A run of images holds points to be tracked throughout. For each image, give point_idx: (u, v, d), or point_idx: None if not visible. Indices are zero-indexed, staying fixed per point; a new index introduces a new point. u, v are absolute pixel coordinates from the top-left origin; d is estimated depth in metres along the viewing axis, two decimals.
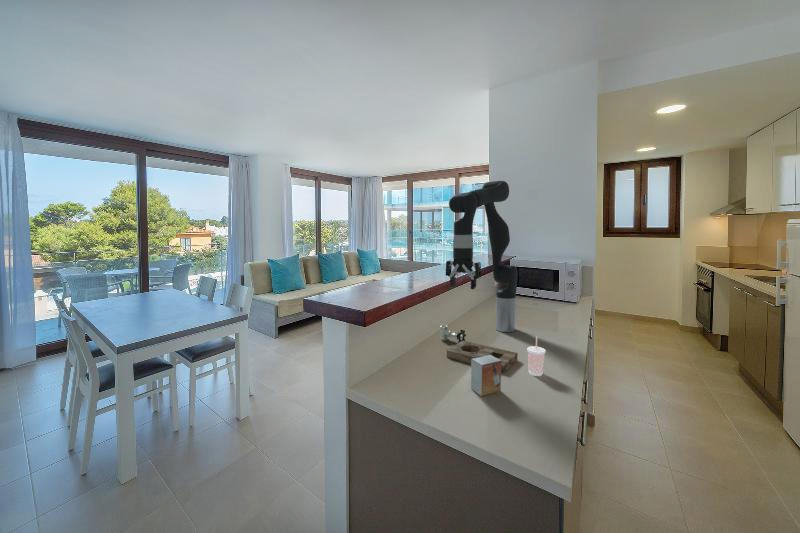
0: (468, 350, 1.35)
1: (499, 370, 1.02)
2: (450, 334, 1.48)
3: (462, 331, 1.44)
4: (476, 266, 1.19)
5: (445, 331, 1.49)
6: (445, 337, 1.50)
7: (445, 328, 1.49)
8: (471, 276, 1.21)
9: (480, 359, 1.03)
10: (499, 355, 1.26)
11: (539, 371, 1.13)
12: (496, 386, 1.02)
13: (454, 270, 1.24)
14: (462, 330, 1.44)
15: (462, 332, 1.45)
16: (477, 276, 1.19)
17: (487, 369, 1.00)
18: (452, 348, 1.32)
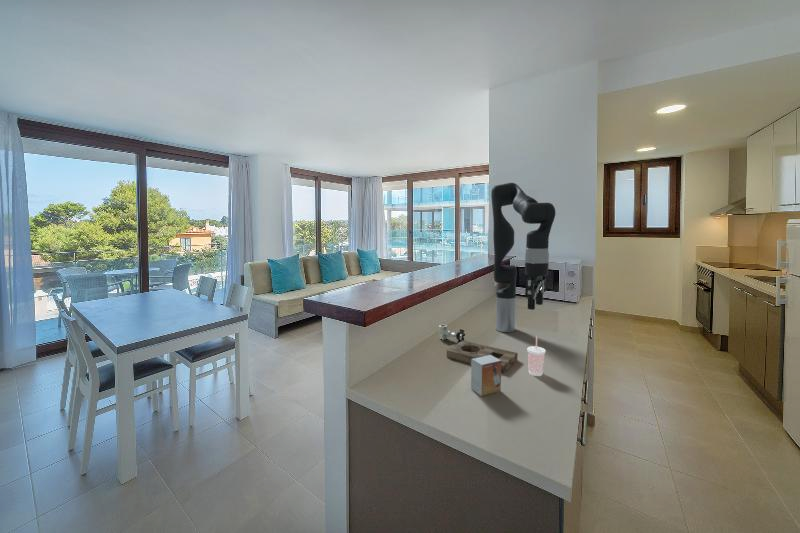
0: (468, 350, 1.35)
1: (499, 370, 1.02)
2: (449, 334, 1.48)
3: (461, 331, 1.45)
4: (545, 279, 1.15)
5: (444, 331, 1.50)
6: (444, 337, 1.50)
7: (444, 328, 1.50)
8: (543, 291, 1.14)
9: (480, 359, 1.03)
10: (499, 355, 1.26)
11: (539, 371, 1.13)
12: (496, 386, 1.02)
13: (538, 289, 1.08)
14: (461, 330, 1.45)
15: (461, 332, 1.45)
16: (545, 289, 1.16)
17: (487, 369, 1.00)
18: (452, 348, 1.32)
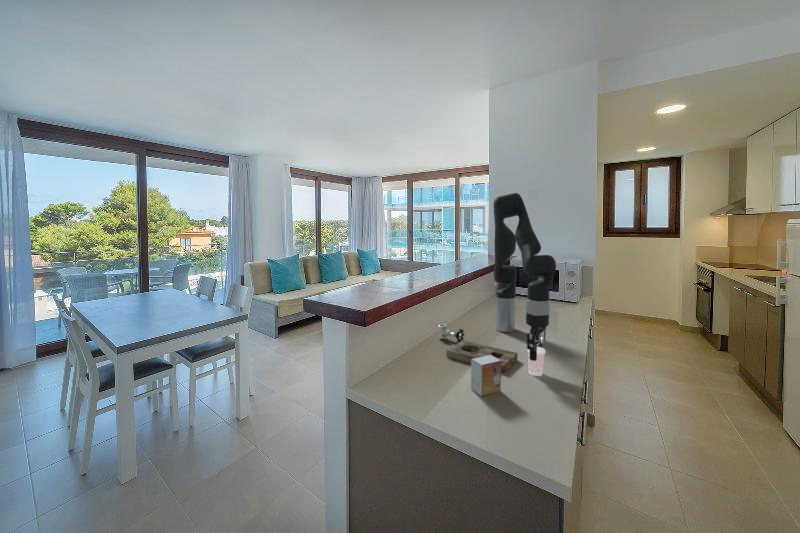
0: (468, 350, 1.35)
1: (499, 370, 1.02)
2: (449, 333, 1.49)
3: (461, 330, 1.45)
4: (545, 329, 1.17)
5: (444, 331, 1.50)
6: (444, 336, 1.50)
7: (444, 328, 1.50)
8: (542, 341, 1.16)
9: (480, 359, 1.03)
10: (499, 355, 1.26)
11: (539, 371, 1.13)
12: (496, 386, 1.02)
13: (539, 340, 1.11)
14: (461, 329, 1.45)
15: (461, 331, 1.46)
16: (544, 339, 1.17)
17: (487, 369, 1.00)
18: (452, 348, 1.32)
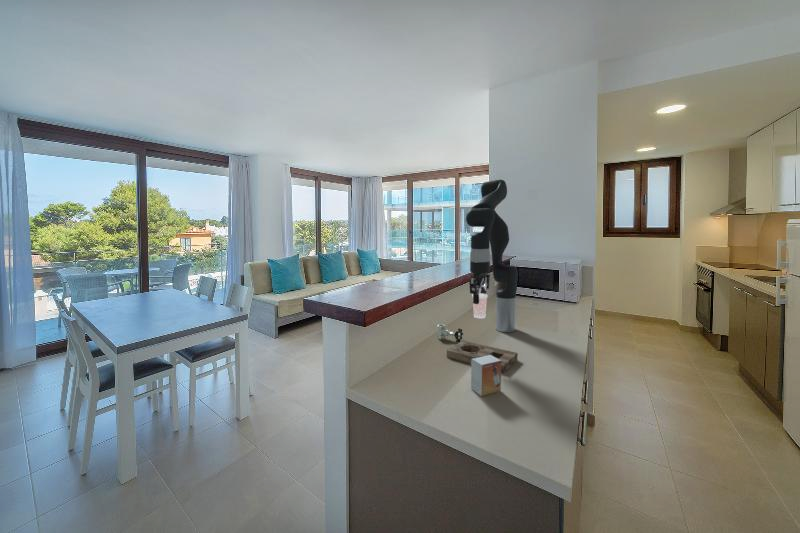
0: (468, 350, 1.35)
1: (499, 370, 1.02)
2: (448, 333, 1.49)
3: (460, 330, 1.46)
4: (489, 277, 1.29)
5: (442, 330, 1.50)
6: (442, 336, 1.51)
7: (442, 327, 1.50)
8: (486, 288, 1.28)
9: (480, 359, 1.03)
10: (499, 355, 1.26)
11: (482, 314, 1.25)
12: (496, 386, 1.02)
13: (481, 285, 1.23)
14: (460, 329, 1.46)
15: (460, 331, 1.46)
16: (488, 286, 1.29)
17: (487, 369, 1.00)
18: (452, 348, 1.32)
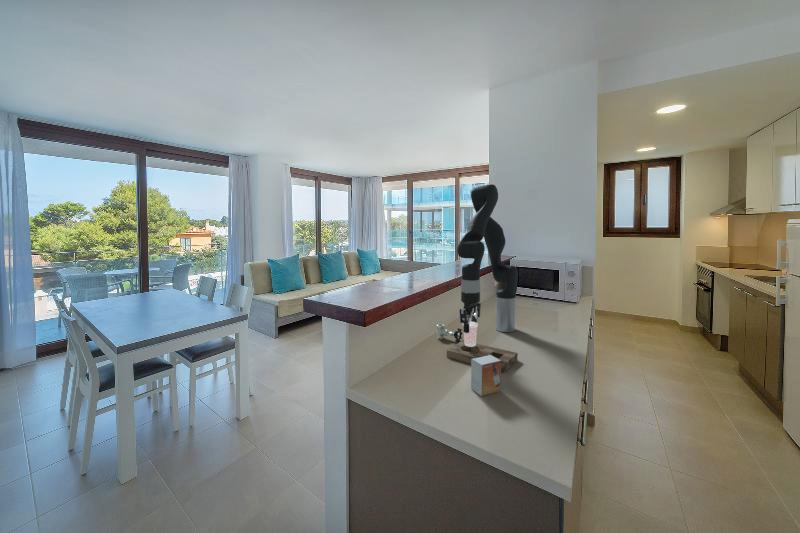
0: (468, 350, 1.35)
1: (499, 370, 1.02)
2: (447, 333, 1.50)
3: (459, 329, 1.46)
4: (479, 306, 1.33)
5: (442, 330, 1.51)
6: (442, 336, 1.51)
7: (442, 327, 1.51)
8: (476, 316, 1.32)
9: (480, 359, 1.03)
10: (499, 355, 1.26)
11: (472, 342, 1.29)
12: (496, 386, 1.02)
13: (471, 315, 1.27)
14: (459, 328, 1.46)
15: (459, 330, 1.47)
16: (479, 315, 1.33)
17: (487, 369, 1.00)
18: (452, 348, 1.32)
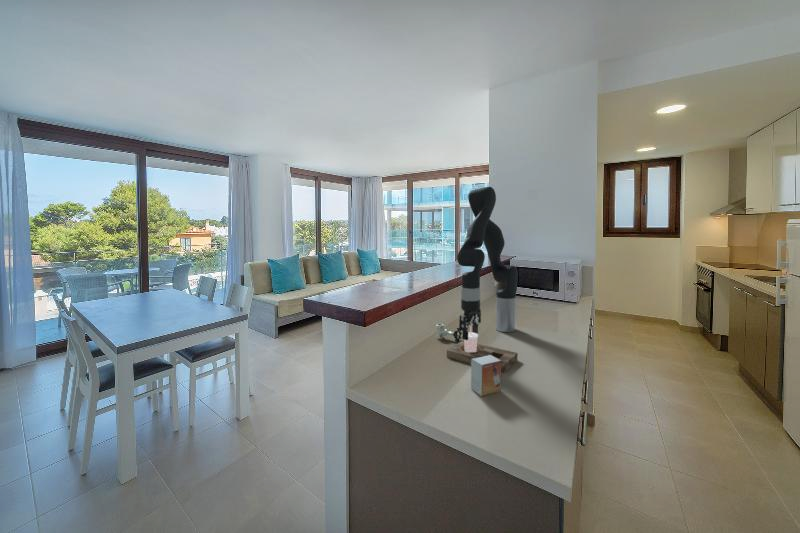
0: None
1: (499, 370, 1.02)
2: (446, 333, 1.50)
3: None
4: (480, 312, 1.34)
5: (441, 330, 1.51)
6: (441, 336, 1.52)
7: (441, 327, 1.51)
8: (477, 322, 1.33)
9: (480, 359, 1.03)
10: (499, 355, 1.26)
11: None
12: (496, 386, 1.02)
13: (471, 322, 1.27)
14: None
15: (459, 330, 1.47)
16: (480, 320, 1.34)
17: (487, 370, 1.00)
18: (452, 348, 1.32)
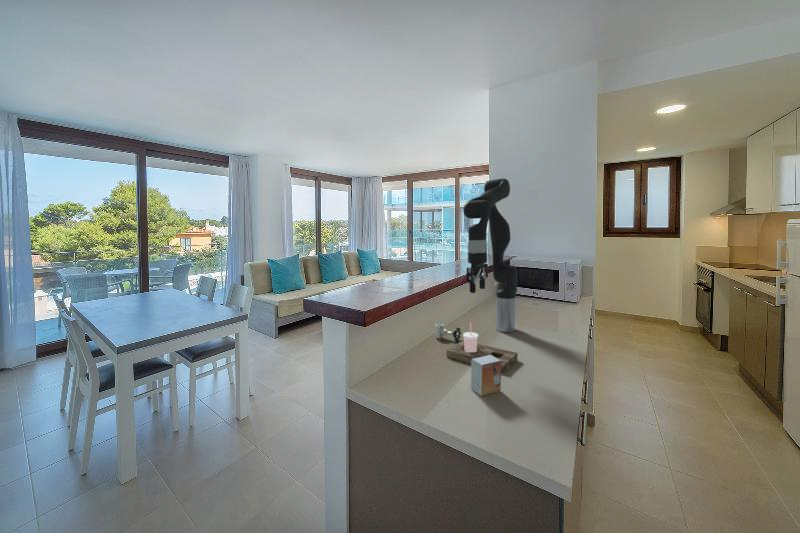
0: None
1: (499, 370, 1.02)
2: (446, 332, 1.50)
3: (458, 329, 1.47)
4: (487, 266, 1.32)
5: (441, 330, 1.51)
6: (441, 336, 1.52)
7: (441, 327, 1.51)
8: (484, 277, 1.31)
9: (480, 359, 1.03)
10: (499, 355, 1.26)
11: None
12: (496, 386, 1.02)
13: (478, 275, 1.25)
14: (458, 328, 1.47)
15: (458, 330, 1.48)
16: (487, 275, 1.33)
17: (487, 370, 1.00)
18: (452, 348, 1.32)
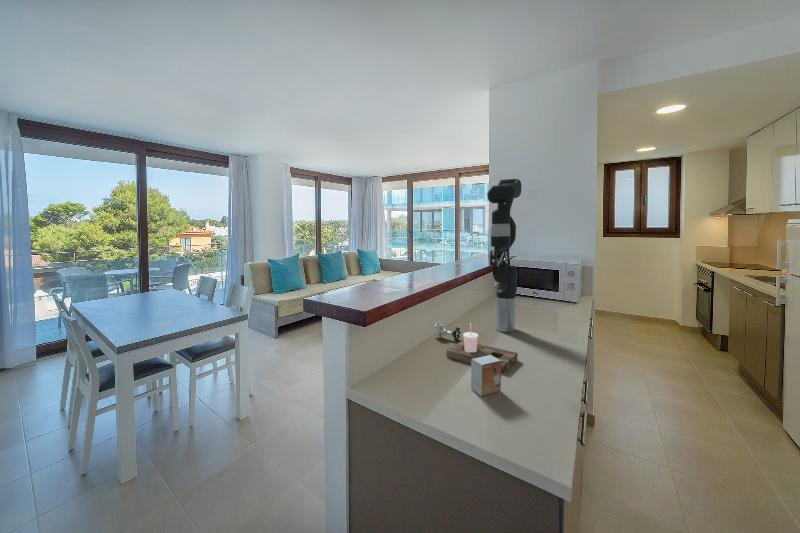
0: None
1: (499, 370, 1.02)
2: (445, 332, 1.51)
3: (457, 329, 1.48)
4: (508, 251, 1.35)
5: (440, 329, 1.52)
6: (440, 335, 1.52)
7: (440, 326, 1.52)
8: (506, 261, 1.34)
9: (480, 359, 1.03)
10: (499, 355, 1.26)
11: None
12: (496, 386, 1.02)
13: (501, 258, 1.28)
14: (457, 328, 1.48)
15: (457, 330, 1.48)
16: (508, 260, 1.36)
17: (487, 370, 1.00)
18: (452, 348, 1.32)
